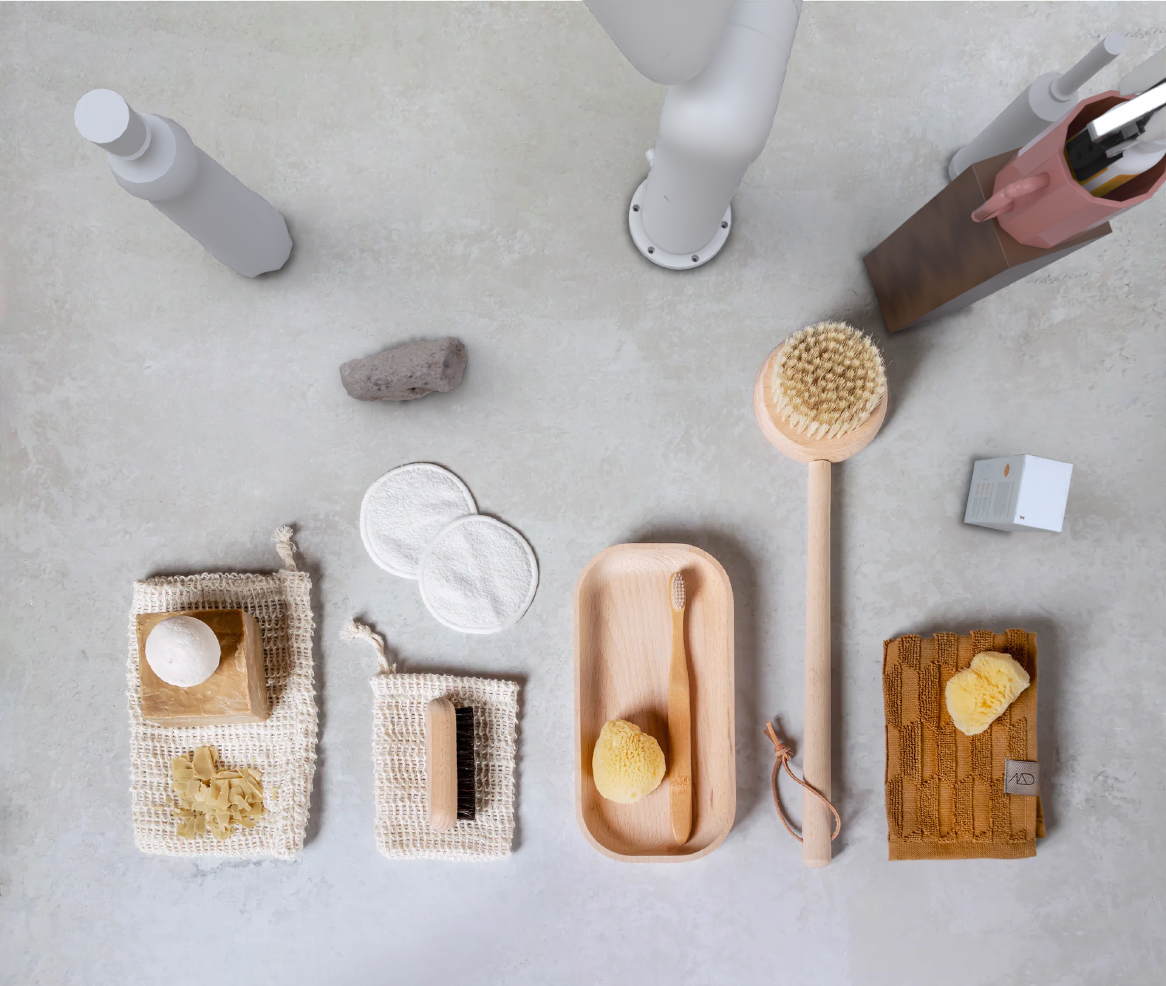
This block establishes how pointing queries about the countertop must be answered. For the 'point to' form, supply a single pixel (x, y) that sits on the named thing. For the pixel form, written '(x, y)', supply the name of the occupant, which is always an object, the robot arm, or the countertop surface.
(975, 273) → the stand
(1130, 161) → the supplement bottle
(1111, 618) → the countertop surface
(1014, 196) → the pink octagonal mug
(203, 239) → the bottle
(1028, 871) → the countertop surface
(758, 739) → the countertop surface
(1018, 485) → the small box
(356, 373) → the pumice stone
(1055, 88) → the bottle
